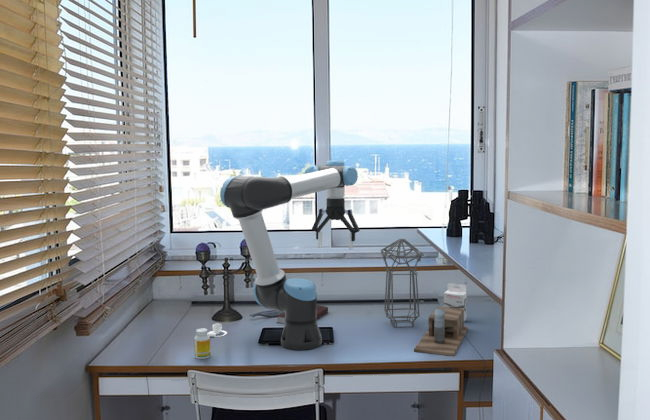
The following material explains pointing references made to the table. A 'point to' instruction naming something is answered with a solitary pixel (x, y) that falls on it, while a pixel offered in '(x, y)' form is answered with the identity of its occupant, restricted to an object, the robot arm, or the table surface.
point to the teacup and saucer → (216, 330)
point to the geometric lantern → (401, 274)
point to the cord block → (441, 326)
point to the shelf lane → (451, 338)
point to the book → (320, 312)
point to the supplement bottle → (202, 344)
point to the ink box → (456, 297)
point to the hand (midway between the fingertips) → (335, 248)
